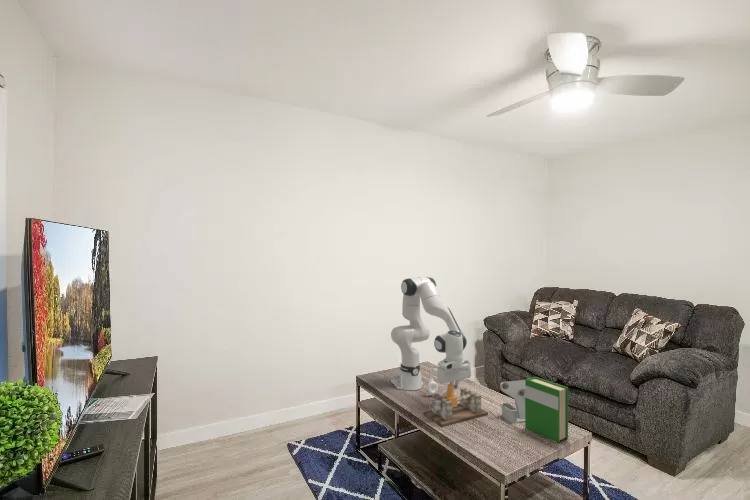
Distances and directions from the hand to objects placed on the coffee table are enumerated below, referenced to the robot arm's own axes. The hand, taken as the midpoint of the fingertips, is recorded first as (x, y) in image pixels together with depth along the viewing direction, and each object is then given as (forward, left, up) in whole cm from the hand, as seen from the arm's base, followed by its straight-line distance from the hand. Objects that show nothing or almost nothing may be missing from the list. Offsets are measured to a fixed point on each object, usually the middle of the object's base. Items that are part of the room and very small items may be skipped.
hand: (454, 388), depth 206 cm
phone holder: (+18, +28, -14) cm, 36 cm away
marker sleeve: (0, -3, -8) cm, 9 cm away
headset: (-19, +4, -14) cm, 24 cm away
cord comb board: (0, +1, -14) cm, 14 cm away
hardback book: (+36, +26, -14) cm, 47 cm away
